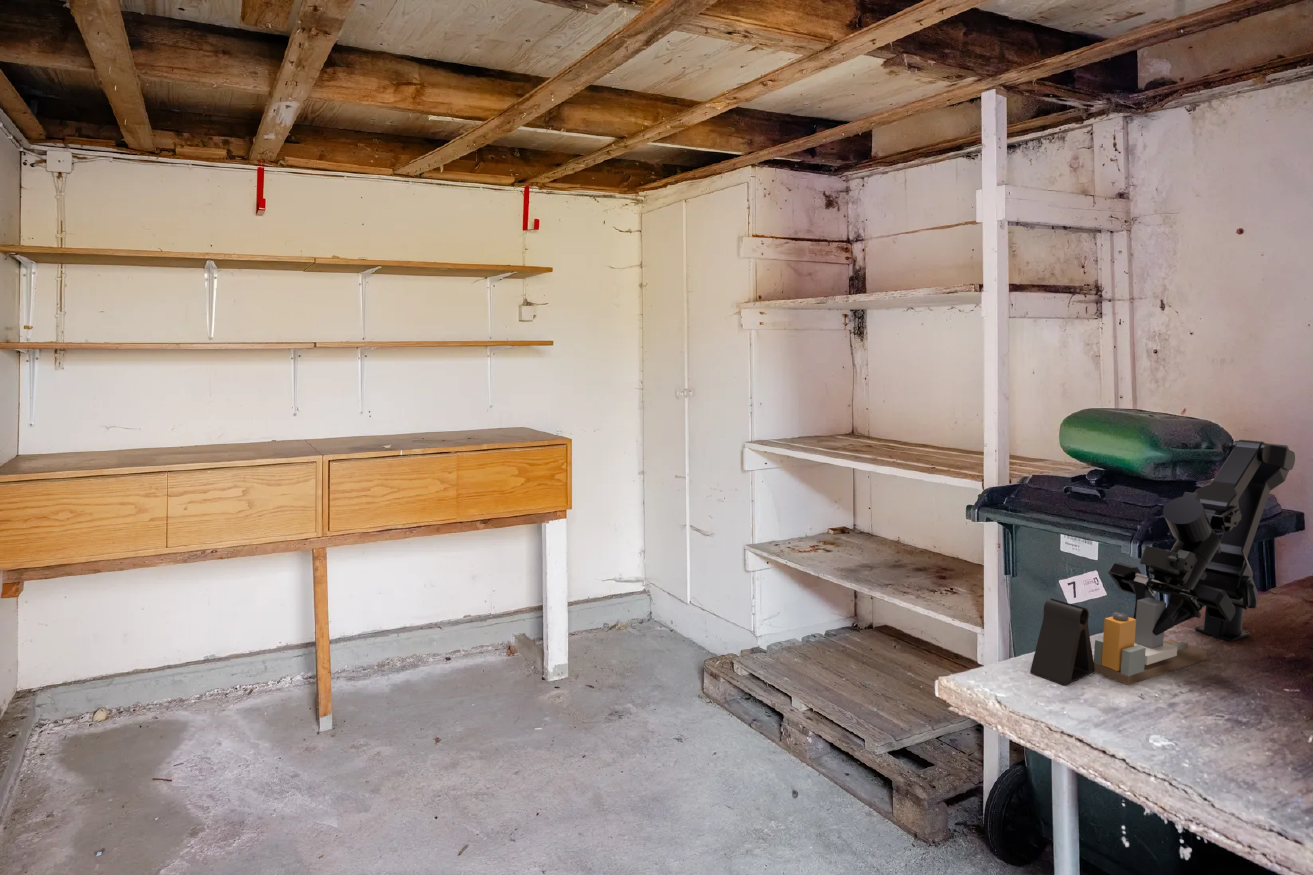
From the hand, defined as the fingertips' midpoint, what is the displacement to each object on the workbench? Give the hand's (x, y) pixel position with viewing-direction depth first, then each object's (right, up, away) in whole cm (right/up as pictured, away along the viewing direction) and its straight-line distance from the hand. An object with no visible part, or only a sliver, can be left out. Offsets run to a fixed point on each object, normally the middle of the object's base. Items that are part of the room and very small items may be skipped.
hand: (1144, 630), depth 135 cm
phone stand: (-14, -7, 0) cm, 16 cm away
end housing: (-5, -6, -2) cm, 8 cm away
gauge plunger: (-6, -5, -2) cm, 8 cm away
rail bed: (+2, -6, +2) cm, 7 cm away
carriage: (0, -4, +1) cm, 4 cm away
